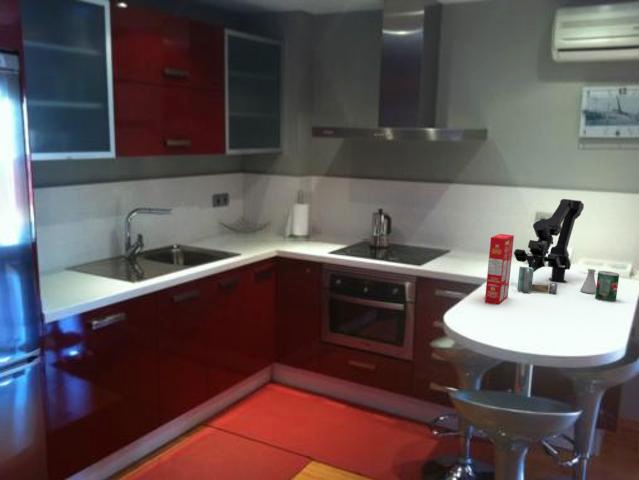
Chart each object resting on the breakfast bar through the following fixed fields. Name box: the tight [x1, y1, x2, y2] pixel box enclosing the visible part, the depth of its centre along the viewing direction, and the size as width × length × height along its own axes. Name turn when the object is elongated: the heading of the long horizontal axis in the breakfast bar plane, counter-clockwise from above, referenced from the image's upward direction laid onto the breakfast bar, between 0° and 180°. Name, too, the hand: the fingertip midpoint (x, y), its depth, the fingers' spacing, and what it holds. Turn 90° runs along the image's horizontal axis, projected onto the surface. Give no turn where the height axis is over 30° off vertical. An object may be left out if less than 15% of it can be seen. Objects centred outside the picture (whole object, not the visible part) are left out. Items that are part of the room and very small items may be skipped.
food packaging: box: [484, 233, 515, 305], centre depth 231 cm, size 15×5×25 cm, turn 150°
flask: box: [579, 268, 597, 295], centre depth 255 cm, size 7×7×10 cm
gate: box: [516, 266, 550, 294], centre depth 250 cm, size 12×4×10 cm, turn 83°
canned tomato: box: [594, 270, 620, 303], centre depth 243 cm, size 8×8×11 cm
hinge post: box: [548, 283, 558, 295], centre depth 249 cm, size 3×3×4 cm
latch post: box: [522, 269, 531, 295], centre depth 247 cm, size 2×2×10 cm
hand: (529, 273), depth 254 cm, fingers closed
